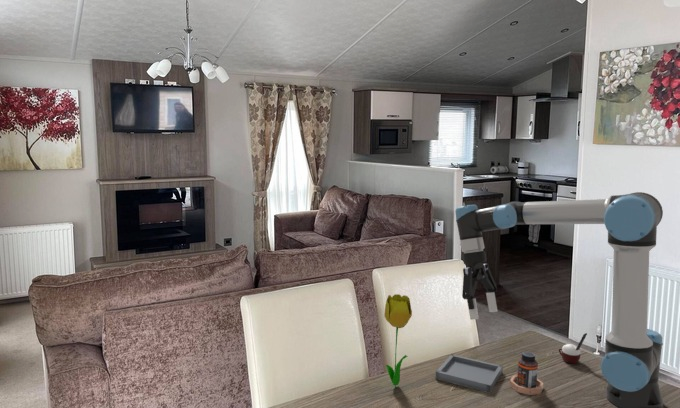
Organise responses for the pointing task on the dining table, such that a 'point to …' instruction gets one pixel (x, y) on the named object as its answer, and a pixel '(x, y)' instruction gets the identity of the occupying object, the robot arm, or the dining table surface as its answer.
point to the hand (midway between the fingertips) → (484, 315)
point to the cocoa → (572, 351)
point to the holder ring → (523, 389)
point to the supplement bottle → (527, 370)
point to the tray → (469, 373)
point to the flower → (397, 325)
